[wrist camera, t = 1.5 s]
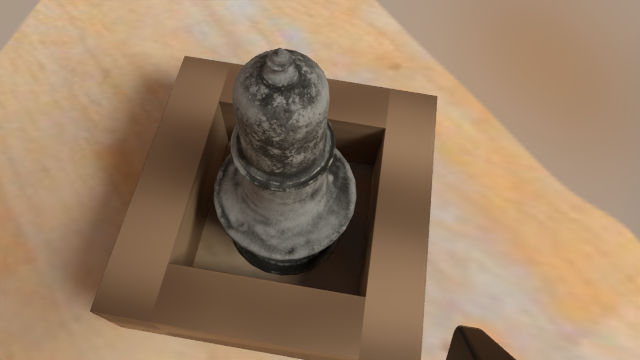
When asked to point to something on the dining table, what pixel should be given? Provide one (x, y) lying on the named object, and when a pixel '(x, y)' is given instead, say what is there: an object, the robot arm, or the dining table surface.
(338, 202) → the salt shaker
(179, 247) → the holder
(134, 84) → the dining table surface
